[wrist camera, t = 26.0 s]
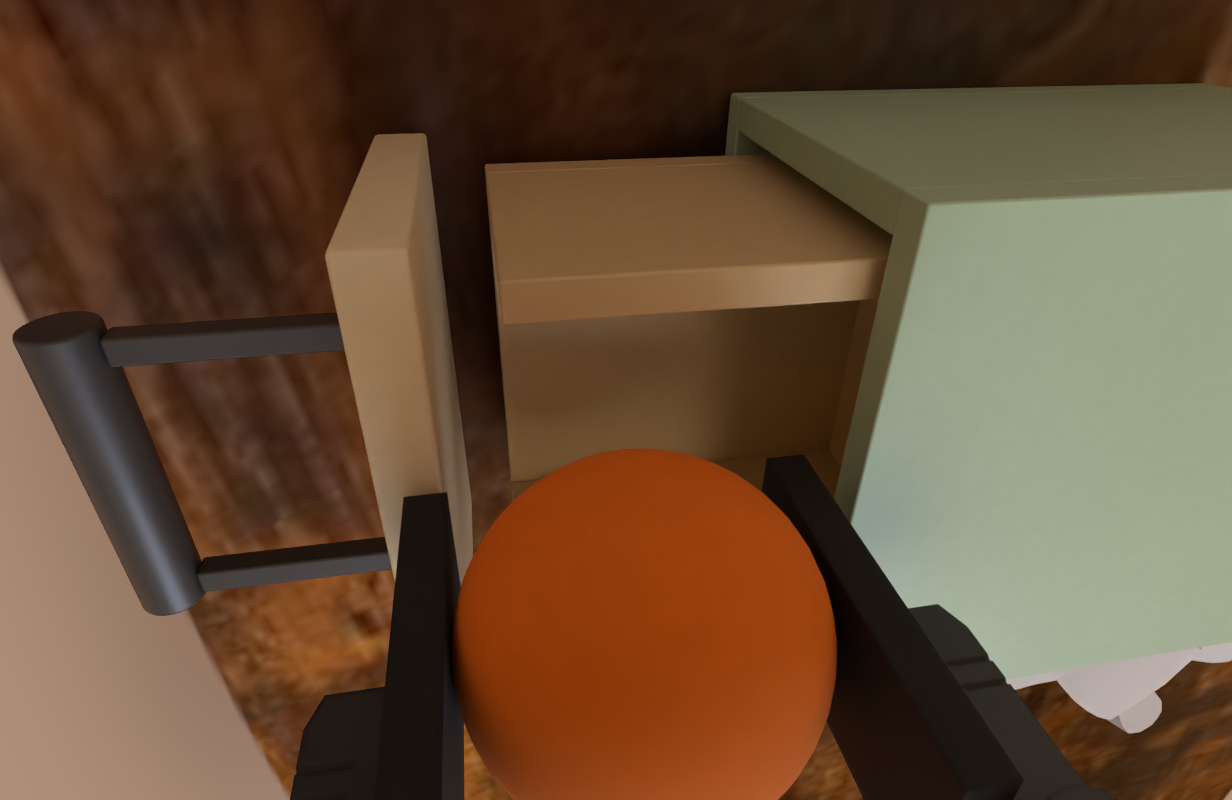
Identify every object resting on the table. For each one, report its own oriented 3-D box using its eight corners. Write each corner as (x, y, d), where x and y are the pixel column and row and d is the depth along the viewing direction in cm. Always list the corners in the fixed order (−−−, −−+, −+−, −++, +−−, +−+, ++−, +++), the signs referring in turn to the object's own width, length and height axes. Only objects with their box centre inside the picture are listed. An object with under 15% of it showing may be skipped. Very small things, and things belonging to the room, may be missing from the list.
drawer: (226, 528, 22) (130, 771, 16) (83, 142, 16) (-171, 278, 10) (828, 462, 25) (956, 642, 19) (901, 119, 19) (1128, 210, 13)
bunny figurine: (1101, 519, 25) (1332, 659, 29) (1016, 440, 29) (1229, 573, 34) (912, 689, 28) (1146, 790, 33) (862, 596, 33) (1075, 696, 37)
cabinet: (695, 473, 26) (803, 714, 18) (729, 92, 19) (929, 203, 11) (1060, 434, 28) (1300, 631, 20) (1206, 82, 21) (1657, 168, 13)
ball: (435, 394, 12) (415, 718, 7) (777, 366, 13) (973, 636, 8) (469, 634, 15) (472, 972, 10) (741, 598, 16) (864, 892, 11)
